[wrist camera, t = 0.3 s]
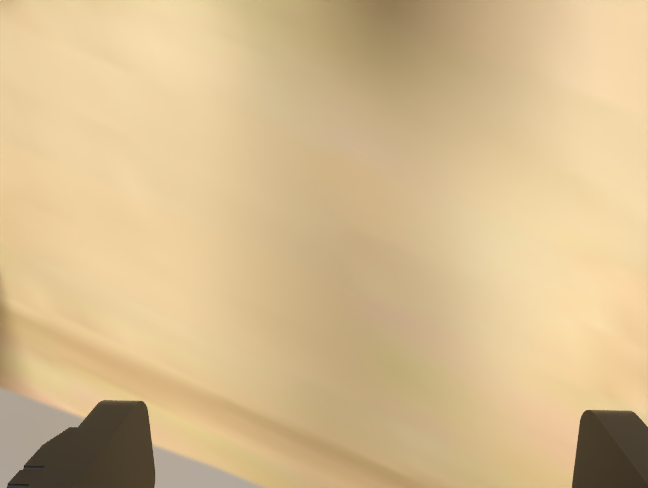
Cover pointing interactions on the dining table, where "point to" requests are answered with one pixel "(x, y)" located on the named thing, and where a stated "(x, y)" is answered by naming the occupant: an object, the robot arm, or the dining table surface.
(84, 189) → the dining table surface
